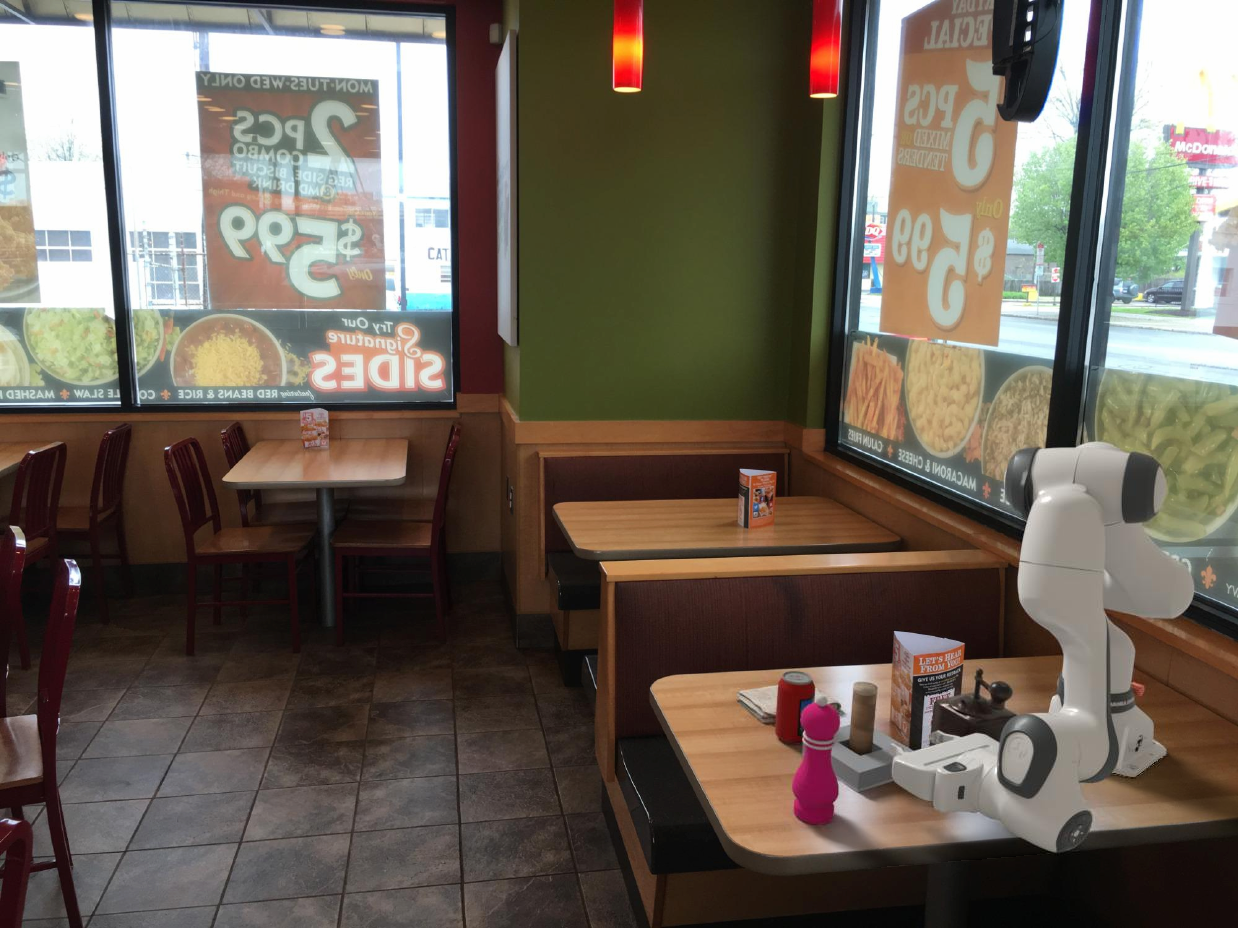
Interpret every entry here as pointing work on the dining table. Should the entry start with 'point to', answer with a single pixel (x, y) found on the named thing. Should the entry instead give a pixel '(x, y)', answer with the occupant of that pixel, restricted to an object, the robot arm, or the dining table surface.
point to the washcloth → (770, 702)
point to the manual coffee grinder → (974, 711)
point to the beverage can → (793, 705)
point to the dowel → (862, 717)
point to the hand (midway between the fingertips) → (913, 741)
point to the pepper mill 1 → (817, 764)
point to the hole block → (862, 761)
